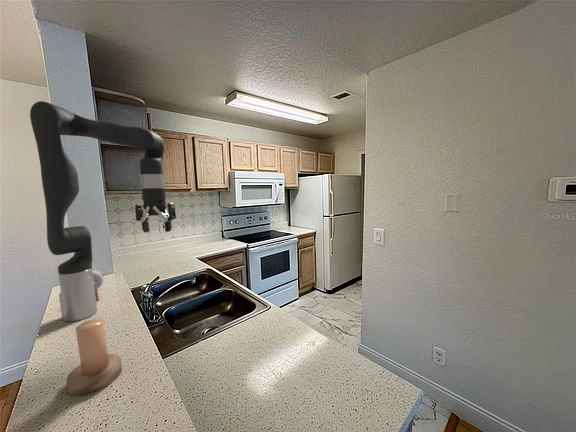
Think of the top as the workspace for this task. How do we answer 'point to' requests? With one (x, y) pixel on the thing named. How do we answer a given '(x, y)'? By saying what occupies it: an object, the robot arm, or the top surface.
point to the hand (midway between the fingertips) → (157, 231)
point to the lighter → (96, 290)
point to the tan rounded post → (92, 346)
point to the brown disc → (93, 378)
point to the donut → (98, 278)
